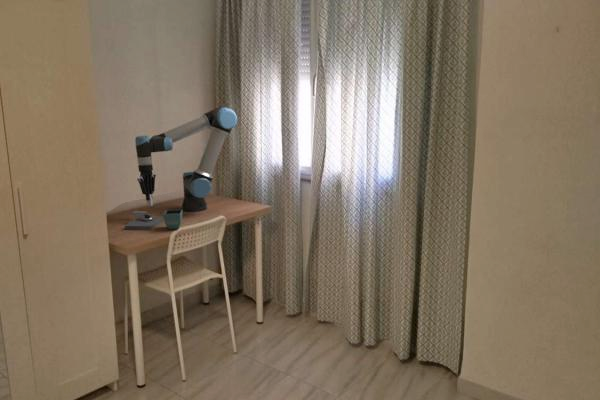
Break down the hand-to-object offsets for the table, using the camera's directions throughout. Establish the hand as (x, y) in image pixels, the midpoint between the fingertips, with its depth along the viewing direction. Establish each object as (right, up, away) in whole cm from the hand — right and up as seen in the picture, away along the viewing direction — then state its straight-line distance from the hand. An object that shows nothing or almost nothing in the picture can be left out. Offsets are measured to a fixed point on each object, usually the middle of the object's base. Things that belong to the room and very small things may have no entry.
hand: (150, 205), depth 283 cm
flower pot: (+17, -12, -15) cm, 26 cm away
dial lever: (-2, -8, -7) cm, 10 cm away
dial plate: (0, -10, -9) cm, 14 cm away
